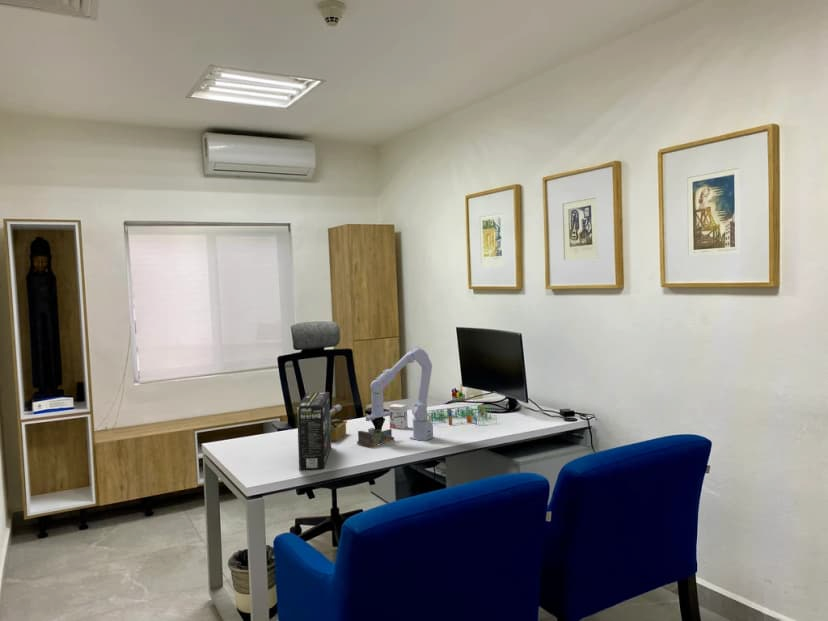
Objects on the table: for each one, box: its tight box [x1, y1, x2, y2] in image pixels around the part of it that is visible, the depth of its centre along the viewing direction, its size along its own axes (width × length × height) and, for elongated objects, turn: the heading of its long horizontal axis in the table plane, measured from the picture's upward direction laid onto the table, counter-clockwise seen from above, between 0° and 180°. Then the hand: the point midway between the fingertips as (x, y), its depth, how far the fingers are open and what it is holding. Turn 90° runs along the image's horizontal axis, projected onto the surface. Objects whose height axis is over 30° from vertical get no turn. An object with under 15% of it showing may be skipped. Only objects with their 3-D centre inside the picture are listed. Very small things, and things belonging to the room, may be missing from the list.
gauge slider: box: [367, 427, 383, 434], centre depth 293 cm, size 3×7×4 cm, turn 48°
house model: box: [427, 404, 498, 426], centre depth 334 cm, size 35×30×5 cm
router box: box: [296, 391, 332, 471], centre depth 271 cm, size 36×11×27 cm, turn 3°
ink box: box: [388, 403, 409, 430], centre depth 322 cm, size 9×5×12 cm, turn 62°
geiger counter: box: [330, 404, 348, 442], centre depth 303 cm, size 9×26×15 cm, turn 168°
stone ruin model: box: [356, 428, 395, 448], centre depth 294 cm, size 16×9×6 cm, turn 138°
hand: (378, 433), depth 296 cm, fingers closed
